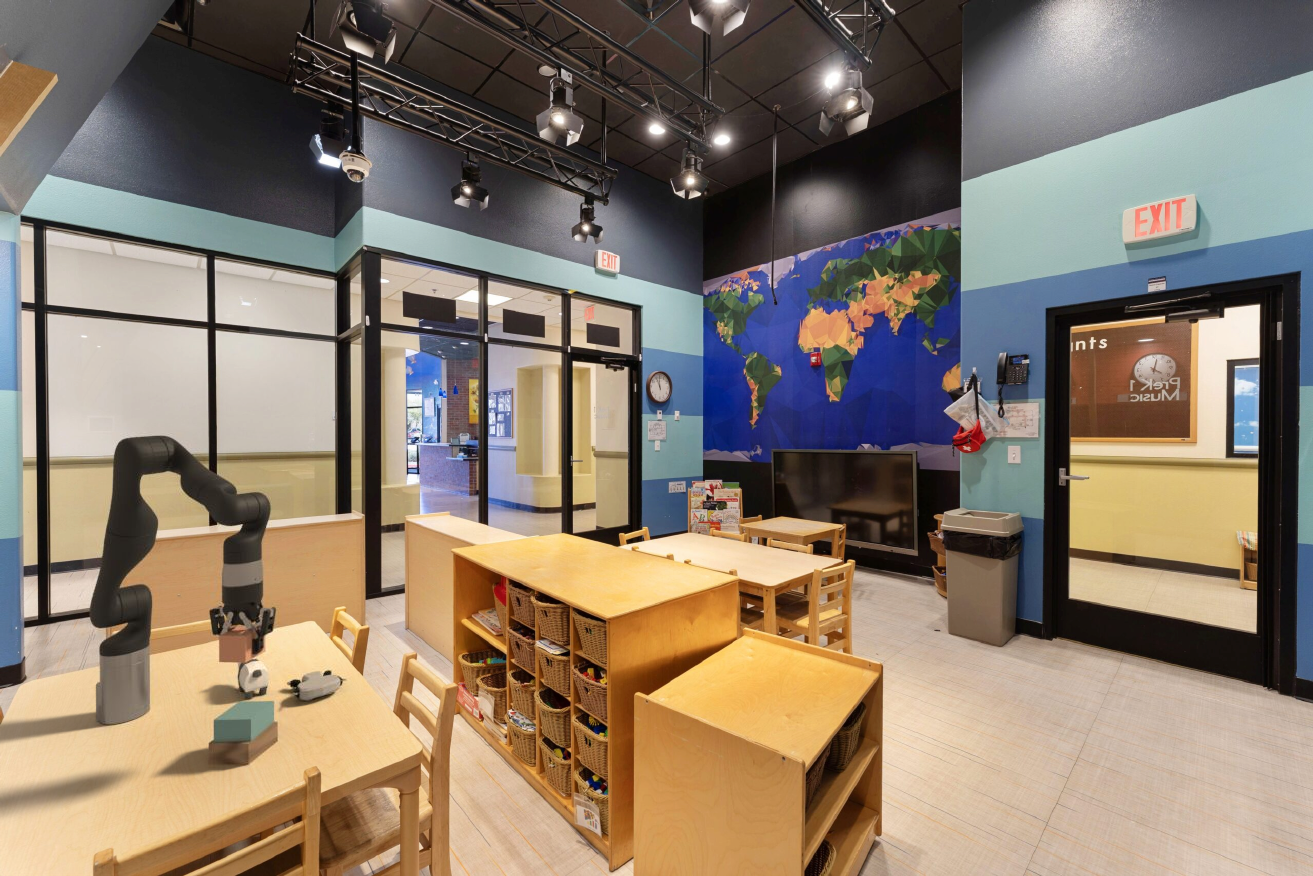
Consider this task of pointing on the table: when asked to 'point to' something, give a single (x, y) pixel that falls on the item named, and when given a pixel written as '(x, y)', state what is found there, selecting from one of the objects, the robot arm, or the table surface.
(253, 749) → the tower base
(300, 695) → the robot toy
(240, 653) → the terracotta cube
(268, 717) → the tower top
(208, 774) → the table surface
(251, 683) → the giant panda
